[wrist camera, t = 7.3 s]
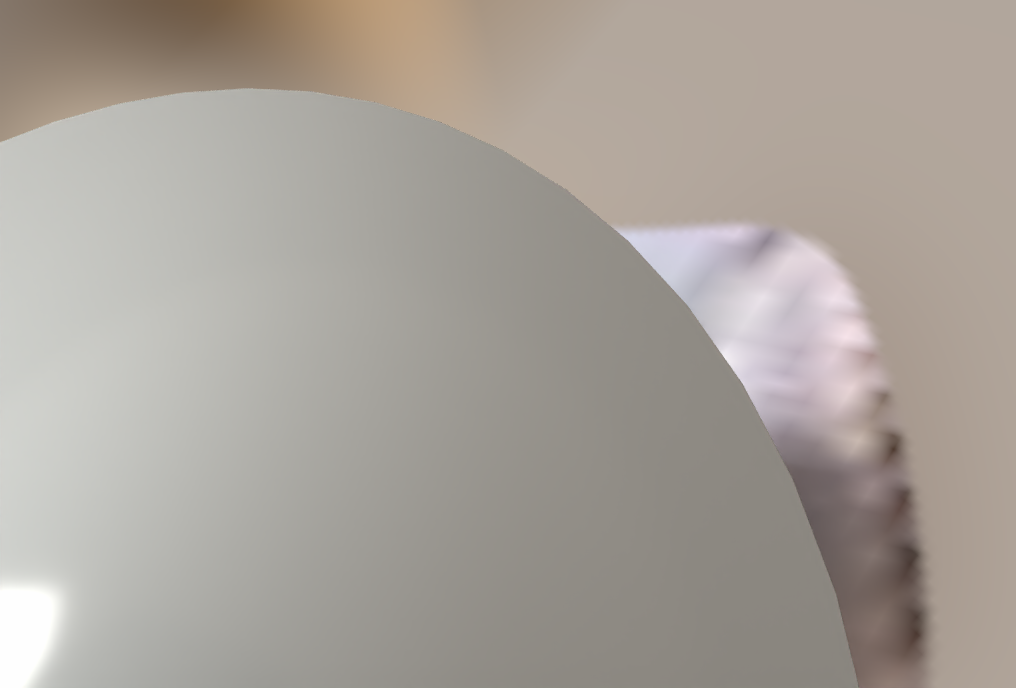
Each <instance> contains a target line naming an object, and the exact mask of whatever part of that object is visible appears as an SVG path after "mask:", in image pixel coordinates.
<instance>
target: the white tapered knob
mask: <svg viewBox="0 0 1016 688" xmlns="http://www.w3.org/2000/svg"><path fill="white" fill-rule="evenodd" d="M0 688H859V685H858V681H857V677H856V673H855V669H854V665H853V661H852V657H851V653H850V649H849V645H848V641H847V636H846V632H845V628H844V624H843V620H842V616H841V612H840V608H839V604H838V600H837V596H836V592H835V590H834V587H833V584H832V582H831V579H830V576H829V574H828V571H827V569H826V566H825V563H824V561H823V558H822V555H821V553H820V550H819V547H818V545H817V542H816V539H815V537H814V534H813V531H812V529H811V526H810V524H809V521H808V518H807V516H806V513H805V510H804V508H803V505H802V502H801V500H800V497H799V494H798V492H797V489H796V486H795V484H794V481H793V479H792V477H791V475H790V473H789V471H788V469H787V467H786V466H785V464H784V462H783V460H782V458H781V456H780V454H779V452H778V450H777V448H776V447H775V445H774V443H773V441H772V439H771V437H770V435H769V433H768V431H767V429H766V428H765V426H764V424H763V422H762V420H761V418H760V416H759V414H758V412H757V410H756V409H755V407H754V405H753V403H752V401H751V399H750V397H749V395H748V393H747V391H746V390H745V388H744V386H743V384H742V383H741V381H740V380H739V378H738V377H737V375H736V374H735V373H734V371H733V370H732V368H731V367H730V365H729V364H728V363H727V361H726V360H725V358H724V357H723V355H722V354H721V353H720V351H719V350H718V348H717V347H716V345H715V344H714V343H713V341H712V340H711V338H710V337H709V336H708V334H707V333H706V331H705V330H704V328H703V327H702V326H701V324H700V323H699V321H698V320H697V318H696V317H695V316H694V314H693V313H692V311H691V310H690V308H689V307H688V306H687V304H686V303H685V302H684V301H683V300H682V299H681V298H680V297H679V296H678V295H677V294H676V292H675V291H674V290H673V289H672V288H671V287H670V286H669V285H668V284H667V283H666V282H665V281H664V279H663V278H662V277H661V276H660V275H659V274H658V273H657V272H656V271H655V270H654V269H653V267H652V266H651V265H650V264H649V263H648V262H647V261H646V260H645V259H644V258H643V257H642V256H641V254H640V253H639V252H638V251H637V250H636V249H635V248H634V247H633V246H632V245H631V244H630V242H629V241H628V240H626V239H625V238H624V237H623V236H622V235H620V234H619V233H618V232H617V231H615V230H614V229H613V228H612V227H611V226H609V225H608V224H607V223H606V222H605V221H603V220H602V219H601V218H600V217H599V216H597V215H596V214H595V213H594V212H593V211H591V210H590V209H589V208H588V207H587V206H585V205H584V204H583V203H582V202H581V201H579V200H578V199H577V198H576V197H575V196H573V195H572V194H571V193H570V192H568V191H567V190H566V189H564V188H563V187H561V186H560V185H558V184H556V183H555V182H553V181H552V180H550V179H548V178H547V177H545V176H543V175H542V174H540V173H539V172H537V171H536V170H534V169H532V168H531V167H529V166H527V165H526V164H524V163H523V162H521V161H520V160H517V159H516V158H515V157H513V156H511V155H510V154H508V153H507V152H505V151H503V150H501V149H499V148H497V147H494V146H492V145H490V144H488V143H485V142H483V141H481V140H479V139H477V138H475V137H472V136H470V135H468V134H466V133H464V132H461V131H459V130H457V129H455V128H453V127H450V126H448V125H446V124H443V123H441V122H439V121H436V120H432V119H429V118H425V117H422V116H419V115H416V114H412V113H409V112H406V111H402V110H399V109H396V108H392V107H389V106H386V105H383V104H379V103H376V102H370V101H364V100H359V99H353V98H347V97H340V96H335V95H329V94H323V93H317V92H311V91H290V90H268V89H248V88H247V89H231V90H216V91H201V92H186V93H178V94H172V95H167V96H161V97H156V98H150V99H144V100H138V101H132V102H126V103H121V104H116V105H113V106H109V107H106V108H102V109H99V110H95V111H92V112H88V113H84V114H81V115H77V116H73V117H70V118H66V119H63V120H59V121H55V122H53V123H50V124H48V125H45V126H42V127H40V128H37V129H34V130H32V131H29V132H27V133H24V134H22V135H19V136H16V137H14V138H11V139H8V140H6V141H3V142H1V143H0Z"/></svg>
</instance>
